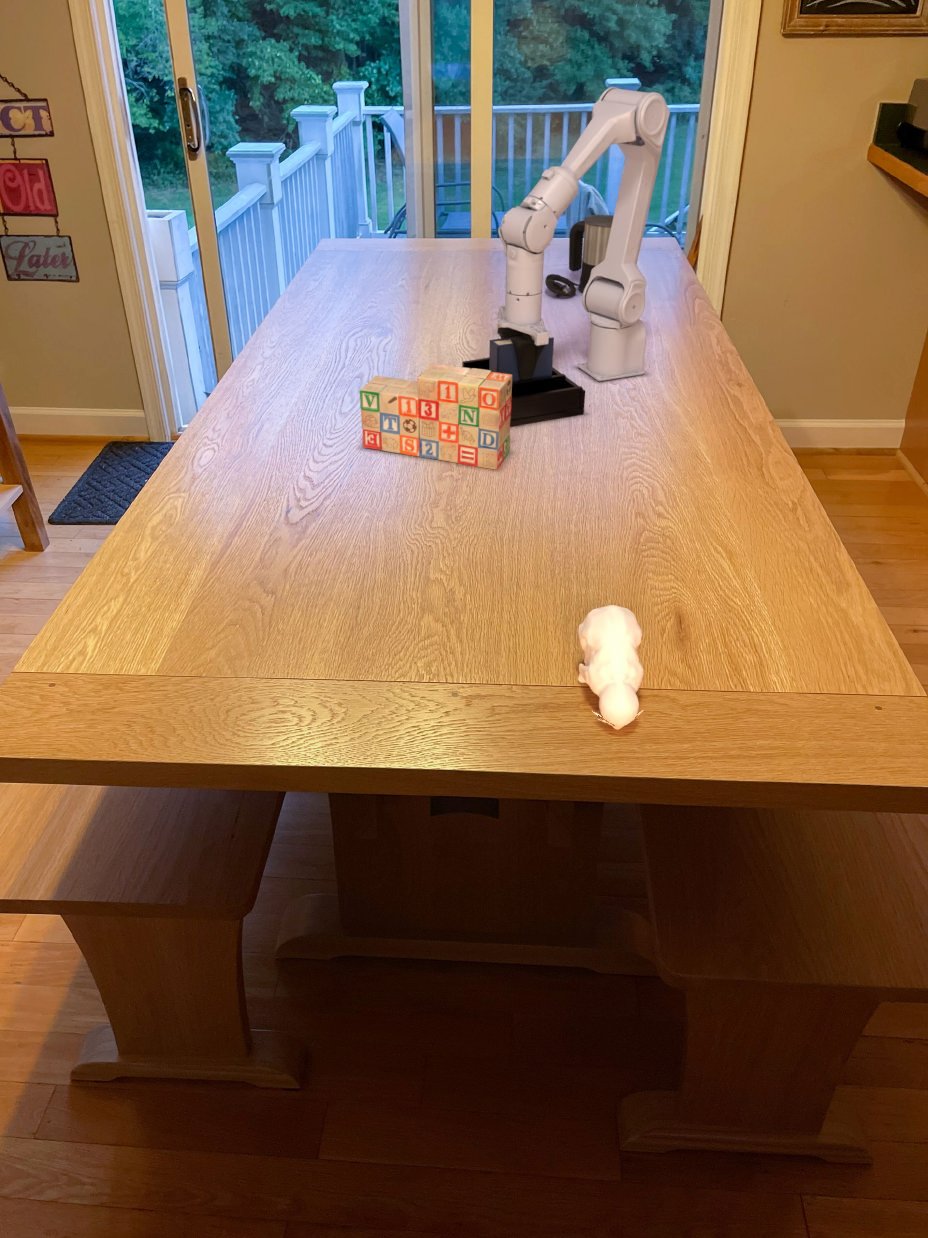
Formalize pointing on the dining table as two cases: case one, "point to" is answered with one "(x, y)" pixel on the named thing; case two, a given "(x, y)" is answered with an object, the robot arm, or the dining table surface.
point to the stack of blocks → (440, 415)
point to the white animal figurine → (612, 662)
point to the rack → (540, 396)
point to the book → (506, 360)
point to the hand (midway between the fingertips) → (520, 374)
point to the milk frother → (593, 252)
